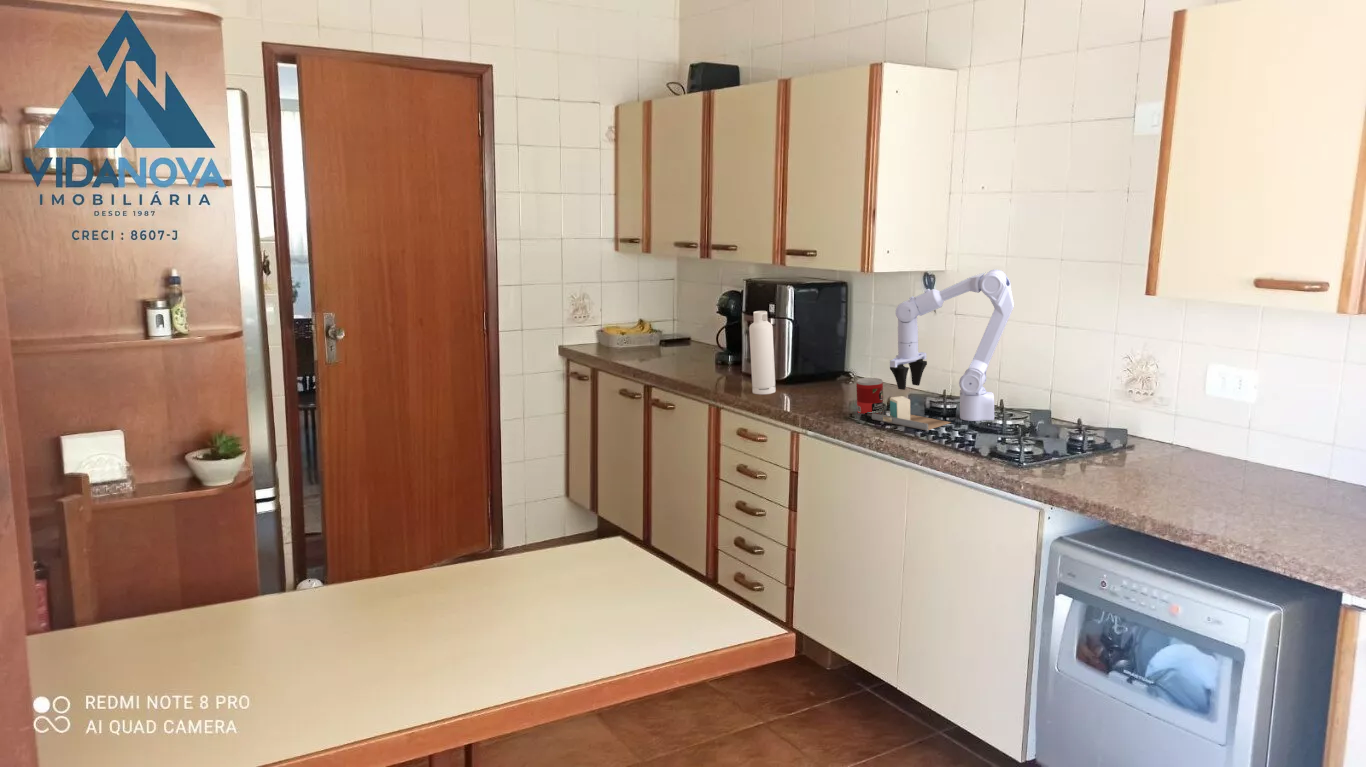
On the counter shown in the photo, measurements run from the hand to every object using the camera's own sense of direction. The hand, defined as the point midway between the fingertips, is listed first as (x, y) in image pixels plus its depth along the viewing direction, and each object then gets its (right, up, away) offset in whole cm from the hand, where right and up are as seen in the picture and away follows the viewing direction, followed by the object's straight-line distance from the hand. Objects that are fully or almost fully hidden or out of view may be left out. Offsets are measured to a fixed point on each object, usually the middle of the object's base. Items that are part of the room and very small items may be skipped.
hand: (908, 387), depth 278 cm
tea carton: (-3, -9, -2) cm, 10 cm away
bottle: (-38, -2, +50) cm, 63 cm away
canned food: (-10, -9, +10) cm, 16 cm away
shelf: (-1, -11, -5) cm, 12 cm away
